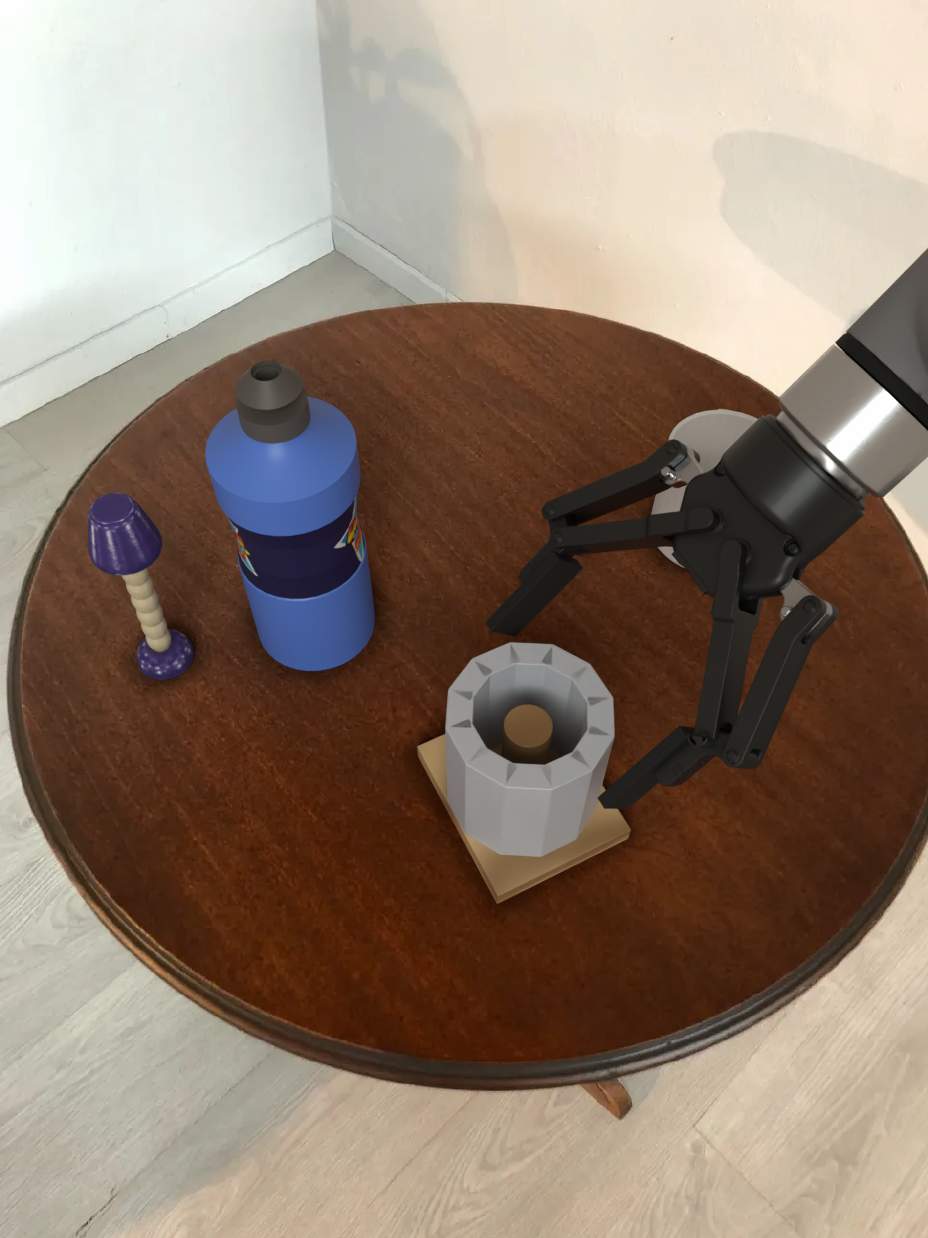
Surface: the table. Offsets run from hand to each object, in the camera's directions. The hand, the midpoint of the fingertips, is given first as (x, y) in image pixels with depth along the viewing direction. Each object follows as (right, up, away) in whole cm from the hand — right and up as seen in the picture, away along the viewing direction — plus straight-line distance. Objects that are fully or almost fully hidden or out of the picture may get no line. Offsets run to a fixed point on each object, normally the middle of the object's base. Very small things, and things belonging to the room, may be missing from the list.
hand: (553, 712), depth 62 cm
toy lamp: (-28, +3, +15) cm, 31 cm away
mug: (+15, +14, +23) cm, 31 cm away
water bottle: (-17, +5, +17) cm, 24 cm away
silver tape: (-2, -6, +7) cm, 9 cm away
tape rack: (-2, -7, +8) cm, 11 cm away
